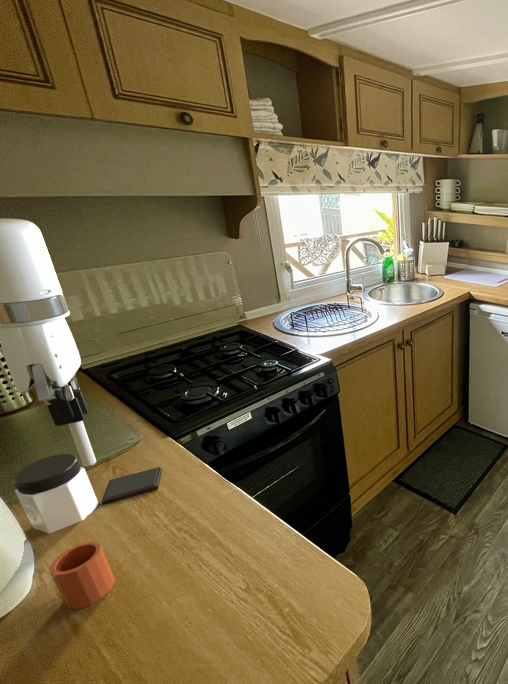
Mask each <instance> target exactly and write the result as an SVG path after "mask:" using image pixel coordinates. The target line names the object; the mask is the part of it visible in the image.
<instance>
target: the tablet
mask: <svg viewBox="0 0 508 684" xmlns="http://www.w3.org/2000/svg"><path fill="white" fill-rule="evenodd" d="M162 472H163V468H162V466H158V467H154V468H150V469H147V470H142V471H139V472H135V473H132V474H127V475H124V476H123V475H122V476H119V477H116V478H112V479H109V481H108V483H107V486H106V488H105V491H104V493H103V497H102V499H101V504H102V505H103V506H104V505H108V504H111V503H114V502H117V501H118V502H119V501H120V500H121V501H122V500H125V499H128V498H131V497H135V496H139V495H141V494H142V495H143V494H145V493H149V492H153V491H156V490H158V489H159V487H160V481H161V477H162Z"/></svg>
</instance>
